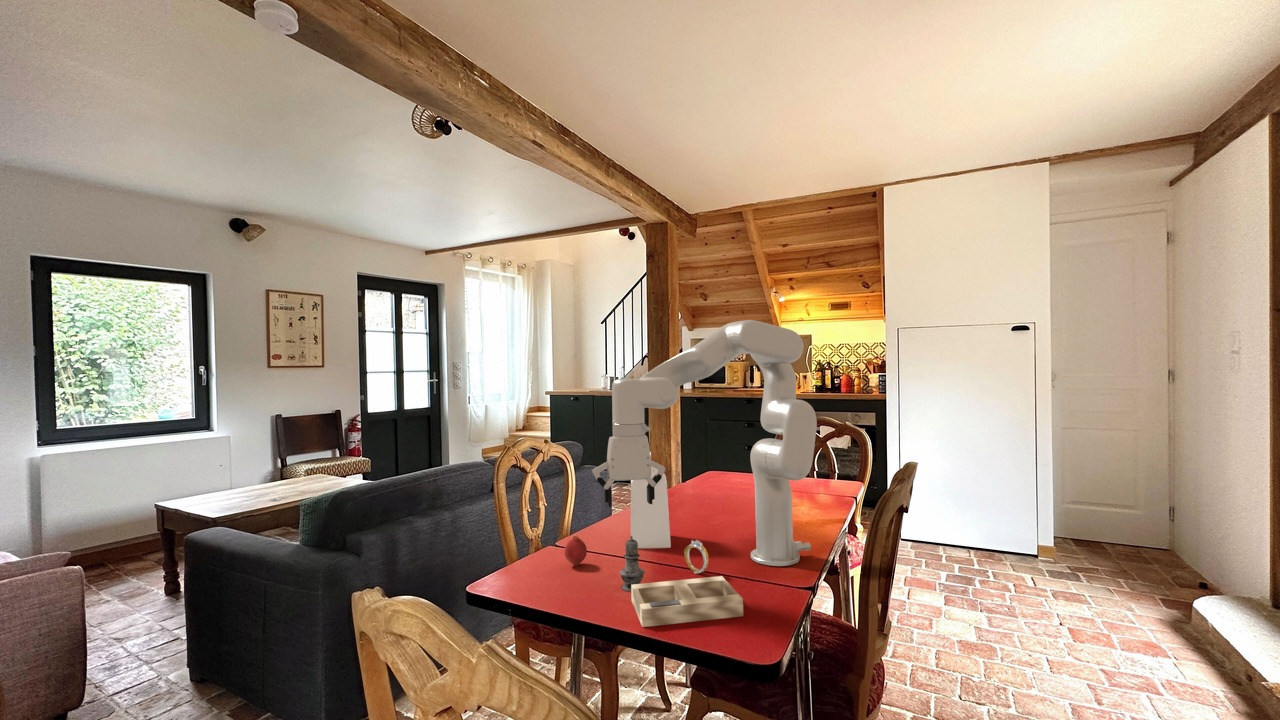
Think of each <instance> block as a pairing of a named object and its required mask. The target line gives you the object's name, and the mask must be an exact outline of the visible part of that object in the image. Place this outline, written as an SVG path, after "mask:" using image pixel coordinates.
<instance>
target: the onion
mask: <svg viewBox="0 0 1280 720" xmlns="http://www.w3.org/2000/svg"><path fill="white" fill-rule="evenodd" d="M587 549H588V548H587V546H586V543H585V542H584V541H583V540H582V539H581V538H579V537H578V535H576V534H574V535H573V536H572V538H571V539H570V540H569V541H567V543H566V544H565V547H564V556H565V559H566V560H567V561H568V562H569V563H571V564H572V565H573V566H574V567H575V566H578V565H580V564H581V563H582V562H583V561H585V558H586V557H587V554H588V553H587V551H588V550H587Z"/></svg>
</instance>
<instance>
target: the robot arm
mask: <svg viewBox="0 0 1280 720" xmlns="http://www.w3.org/2000/svg"><path fill="white" fill-rule="evenodd" d="M804 347H805V346H804V341H803V339H802V337H801V336H800V335H799V333H797V332H796V331H794V330H792V329H790V328H785V327H782V326H778V325H775V324H770V323H767V322H763V321H759V320H753V319H746V320H739V321H733V322H728V323H726V324H724V325H723V326H721V327H719V328H718V329H717V330H715V331H714V332H712V333H711V334H709V335H708V336H707V337H705V338H703V339H702V340H701V341H699V342H698V343H696V344H695V345H693V346H692V347H690V348H689V349H688V348H687V350H685V351H683V352H680V353H678V354H677V355H675V356H674V357H672V358H669V359H668V360H665V361H664V362H662V363H660V364H659V365H657V366H655V367H654V368H652V369H651V370H650V371H648V372H647V373H645V374H644V375H642V376H641V377H640V378H616V379H615V380H613V382H612V386H611V391H612V392H611V396H612V397H611V401H612V402H611V404H612V406H611V407H612V409H611V412H612V436H609V438H608V442H607V443H608V444H607V452H606V453H607V454H606V461H605V462H603V463H601V464H600V465H598V466H596V467H594V468H593V469H592V471H591V472H592V474H593V476H594V478H595V480H596V481H597V483H598V484H599V485H601V486H602V488H603V489H604V490H603V494H604V498H603V499H604V503H606V504H607V507H608V508H610V507H612V505H613V504H612V500H613V499H612V489H611V486H612V485H613V483H614V482H615V481H617V482H620V481H631V480H642V479H646V481H647V482H648V485H647V502H648V503H649V504H652V500H654V499H655V491H654V487H655V486H656V484H657V483H658V482H659V481H660V480H661V478H662V475H663V474H665V472H666V469H667V468H666V467H665V466H664V465H662V464H660V463H658V462H656V461H654V460H652V458H651V459H650V452H651V451H650V444H649V439H648V436H647V435H646V433H647V432H651V429H652V428H651V427H652V426H651V425H647V424H646V423H645V408H647V409H648V408H651V409H657V410H658V409H659V410H665V409H668V408H670V407H672V406H674V405H675V404H676V402H677V401H678V399H679V394H680V393H679V392H680V391H679V387H681V386H683V385H686V384H689V383H692V382H693V383H694V382H697V381H701V380H704V379H705V378H706V379H707V378H709V377H710V376H713V374H715V373H716V372H718V371H719V370H720V369H721V368H723V367H725V366H726V365H727V364H728V363H730V362H731V361H733V360H734V359H735V358H737V357H738V356H740V355H750V356H751V358H752V359H753V361H754V362H755V363H756V364H757V366H758V367H759V369H760V370H761V373H762V377H763V380H764V382H763V392H762V393H763V394H762V401H761V408H760V409H761V410H760V424H761V427H762V428H763V429H764V430H765V431H767V432H768V433H771V434H775V435H782V439H778V438H771V437H770V438H762V439H760V440H758V441H756V443H754V445H752V448H751V451H750V455H749V456H750V457H749V458H750V466H751V471H752V475H753V476H752V477H753V482H754V504H755V505H754V509H755V537H756V538H755V541H756V543H755V544H756V548H755V549H753V550H752V551H750V558H751V559H752V561H754V562H755V563H757V564H761V565H765V566H772V567H787V566H788V567H789V566H793V565H796V564H798V563H799V562H800V557H801V556H800V552H801V551H811V550H812V545H811V544H810V542H802V541H800V540H799V541H798V540H797V541H795V540H794V528H793V493H792V488H791V487H792V486H791V483H790V481H796V482H797V481H800V480H803V479H804V478H805V477H807V476H808V475H809V473H810V471H811V468H812V466H813V459H814V451H815V443H816V436H817V435H816V434H817V425H818V423H817V419H818V418H817V415H816V412H815V410H814V408H813V406H812V405H811V404H810V403H808V402H807V401H805V400H803V399H797V387H798V386H797V383H798V382H797V376H796V375H797V374H796V372H795V370H794V368H793V365H792V364H791V363H795V362H796V361H798V360H799V359H800V358H801V357H802V354H803V352H804ZM651 466H652V467H654V468H656V469H658V472H657V474H656V475H655V476H654V477H653V478H651V477H650V476H651ZM605 470H606V475H607V478H606V479H604V478H602V476H601V475H600V474H601V473H602V472H604V471H605Z"/></svg>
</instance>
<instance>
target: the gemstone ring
mask: <svg viewBox="0 0 1280 720" xmlns="http://www.w3.org/2000/svg"><path fill="white" fill-rule="evenodd" d="M693 548H696V549H698V551H699V552H700V553H701V555H702V558H703V565H702V568H700V569H699V568H696V567H695V566H694V565H693V564H692V562H691V559H690V551H691V549H693ZM683 552H684V553H683V554H684V559H685V563H686V565H687V566H688V568H689V569H690V570H691V571H692V572H693V573H694V574H700V573H704V572H705V571H706V570H707V568H708V566H709V553H708V551H707V549H706V548H705V546H704V545H703V543H702V542H701V541H700V540H698V539H696V540H695V541H694V540H693V539H692V540H691V543H690V544H689V545H687V546H685V548H684V551H683Z"/></svg>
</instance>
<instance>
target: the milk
mask: <svg viewBox="0 0 1280 720" xmlns="http://www.w3.org/2000/svg"><path fill="white" fill-rule="evenodd" d="M651 453H652V452H651V451H650V459H651V460H652V454H651ZM657 472H658V469H656V468H654V467H652V466H651V476H650V477H651V478H653V477H654V476H655V475H656V474H657ZM667 483H668V480H667V475H666V474H665V473H664V474H663V475H662V478H661V480H660V481H659V482H658V483H657V484H656V486H655V487H654V491H655V499H654V500H652V504H649V503H648V502H647V485H648V482H647V481H646V479H642V480H630V537H631V536H632V537H633V538H632V539H634V540H636V541H637V543H638V549H667V548H668V549H669V548H670V549H671V546H672V545H671V529H670V514H669V512H670V511H669V497H668V496H669V495H668V484H667Z"/></svg>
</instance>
